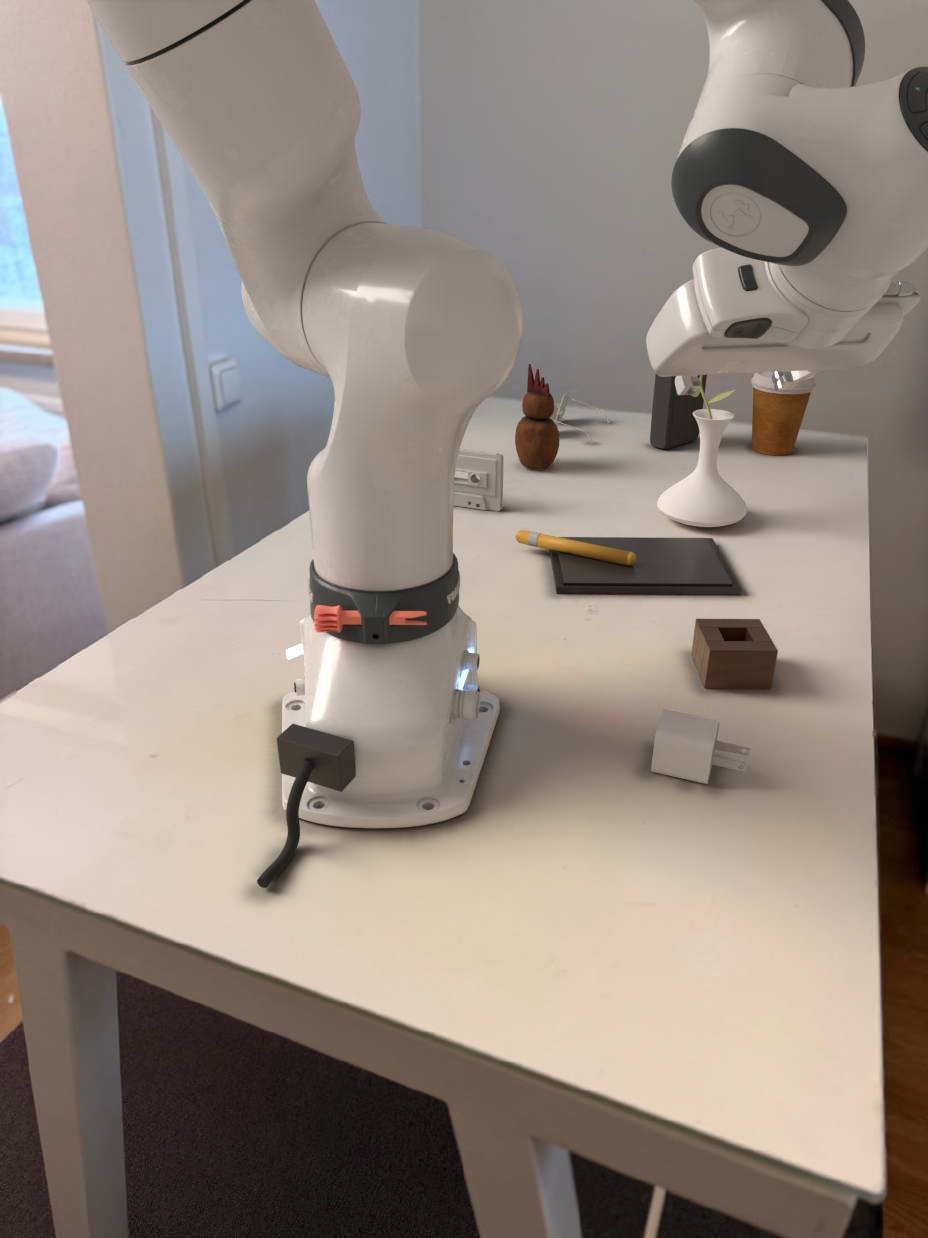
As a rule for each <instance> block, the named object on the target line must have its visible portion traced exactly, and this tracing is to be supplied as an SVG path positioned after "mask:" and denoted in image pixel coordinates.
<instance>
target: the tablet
mask: <svg viewBox="0 0 928 1238" xmlns="http://www.w3.org/2000/svg"><path fill="white" fill-rule="evenodd" d="M559 537H560V538H565V539H570V540H575V541H580V542H585V543H590V544H595V545H600V546H605V547H609V548H614V549H619V550H624V551H629V552H633V553H634V554H635V555H636V558H637V559H636V562H635V564H633V565H631V566H627V565H622V564H617V563H613V562H608V561H603V560H598V559H593V558H589V557H584V556H579V555H574V554H569V553H565V552H560V551H555V550H550V549H548V550H549V555H550V562H551V568H552V575H553V581H554V588H555V593H556V594H557V595H560V594H562V595H563V594H565V595H566V594H567V595H568V594H569V595H570V594H571V595H573V594H574V595H575V594H576V595H577V594H578V595H581V594H582V595H597V594H598V595H696V596H697V595H698V596H699V595H709V596H710V595H711V596H713V595H714V596H715V595H717V596H718V595H721V596H726V595H727V596H741V592H742V587H741V585H740V583H739V582H738V580H737V578H736V576H735V575H734V573H733V571H732V570H731V568H730V566H729V564H728V563H727V561H726V559H725V557H724V556H723V554H722V552H721V550H720V549H719V547H718V545H717V543H716V542H715V540H714V538H713V537H639V536H637V537H635V536H634V537H633V536H632V537H630V536H629V537H628V536H627V537H622V536H621V537H619V536H618V537H617V536H615V537H614V536H613V537H611V536H610V537H609V536H607V537H606V536H595V537H594V536H559Z"/></svg>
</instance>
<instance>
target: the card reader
mask: <svg viewBox="0 0 928 1238" xmlns="http://www.w3.org/2000/svg"><path fill="white" fill-rule="evenodd" d="M654 374H655V376H654V387H653V396H652V406H651V407H652V408H651V418H650V419H651V420H650V432H649V442H650V445H651V447H654V448H658V449H662V450H669V449H672V448H676V447H679V446H682V445H685V444H688V443H692V442H695V441H696V440H697V439H698V437H700V431H699V426H698V423H697V421H696V419H695V417H694V416H693V412H694V411H696V410H700V409H704V404H705V402H704V399H703V397H702V394H701V392H700V394H699V395H698V396H697V397H693V396H692V395H678V394H677V391H676V386H675V378H676V376H667V377H661V376H658V375H657V374H656V373H654ZM697 377H698V378H700V375H698V376H697ZM707 378H708V375H703V377H702V387H703V391H704V394H705V392H706V386H707V380H708V379H707ZM705 395H706V394H705Z"/></svg>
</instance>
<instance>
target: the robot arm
mask: <svg viewBox="0 0 928 1238" xmlns="http://www.w3.org/2000/svg"><path fill="white" fill-rule="evenodd" d="M85 1H86V2H87V4H88V7H89V8H90V10H91V11H92V13H93V15H94V17H95V18H96V21H97V23H98V24H99V26H100V28H101V29H102V31H103V33H104V34H105V36H106V37H107V40H108V42H110V44H111V46H112V47H113V49H114V50H115V52H116V54H117V56H118V57H119V59H120V60H121V62H123V65H124V67H125V68H126V70H127V71H128V73H129V75H130V76H131V78H132V80H133V81H134V83H135V84H136V86H137V88H138V90H139V91H140V92H141V94H142V95H143V97H144V99H145V100H146V102H147V103H148V105H149V107H150V108H151V110H152V111H153V113H154V115H155V116H156V118H157V119H158V121H159V123H160V124H161V126H162V127H163V129H164V131H165V132H166V134H167V135H168V137H169V139H170V140H171V141H172V143H173V145H174V146H175V148H176V150H177V152H178V153H179V154H180V156H181V158H182V159H183V161H184V163H185V164H186V166H187V167H188V169H189V170H190V172H191V174H192V175H193V177H194V179H195V181H196V182H197V184H198V186H199V188H200V189H201V191H202V193H203V195H204V196H205V199H206V201H207V202H208V205H209V206H210V208H211V210H212V213H213V215H214V217H215V219H216V221H217V223H218V227H219V228H220V231H221V233H222V235H223V237H224V240H225V242H226V245H227V248H228V250H229V252H230V255H231V258H232V260H233V262H234V265H235V267H236V270H237V272H238V274H239V277H240V280H241V282H240V285H241V286H240V288H241V290H240V291H241V299H242V304H243V309H244V311H245V313H246V316H247V318H248V321H249V323H250V324H251V325H252V327H253V329H254V330H255V331H256V333H257V334H258V335H259V336H260V337H261V338H262V339H263V340H264V341H265V342H266V343H267V344H269V345H270V346H271V347H272V349H274V350H275V352H277V353H279V354H280V355H281V356H282V357H283V358H285V359H286V360H288V361H289V362H291V363H292V364H293V365H295V366H297V367H298V368H301V369H304V370H307V371H309V372H312V373H315V374H318V375H321V376H323V377H326V378H328V379H330V380H331V383H332V385H333V392H334V404H333V414H332V420H331V421H332V422H331V425H330V430H329V435H328V439H327V442H326V446H325V447H324V448H323V449H322V450H320V451H319V452H318V453H317V454H316V456H315V457H314V458H313V459H312V461H311V463H310V464H309V467H308V470H307V474H306V487H307V498H308V509H309V520H310V532H311V533H310V534H311V544H312V546H311V547H312V555H313V558H312V559H311V561H310V564H309V577H308V583H307V584H308V597H309V613H308V614H307V615H305V616H304V617H303V619H301V620H300V621H299V627H300V628H299V629H300V637H301V643H299V644H297V645H295V646H292V647H289V648H287V649H285V655H286V659H287V660H292V659H294V658H297V657H299V656H300V655H302V656H303V664H304V678H296V679H295V682H294V683H293V690H292V691H290V692H289V693H287V694H285V695H284V696H283V698H282V700H281V733H280V735H278V736H277V737H276V744H277V745H276V746H277V754H278V761H279V770H280V774H281V806H282V809H283V811H285V819H286V826H287V836H286V839H285V843H284V846H283V848H282V850H281V851H280V853H279V855H278V857H277V858H276V859H275V860H274V861H273V862H271V864H270V865H269V866H268V867H267V868H266V869H265V870H264V871H263V872H262V873H261V874H260V876H259V877H258V878H257V880H256V883H257V885H259V887H260V888H263V889H267V888H269V886H270V885H271V884H272V882H273V881H274V880H275V879H276V878H277V877H278V876H279V875H280V874H281V873H282V872H283V871H284V870H285V869H286V868H287V866H288V865H289V864H290V863H291V861H292V859H293V858H294V856H295V854H296V851H297V849H298V846H299V843H300V838H301V823H300V819H301V820H304V821H307V822H310V823H315V824H319V825H325V826H331V827H341V828H349V829H351V828H353V829H354V828H355V829H401V828H413V827H420V826H427V825H432V824H437V823H441V822H444V821H447V820H451V819H453V818H456V817H458V816H460V815H463V814H464V813H466V812H467V811H468V809H469V807H470V804H471V802H472V799H473V795H474V794H475V790H476V787H477V783H478V780H479V777H480V774H481V772H482V771H481V770H482V768H483V765H484V763H485V758H486V756H487V752H488V749H489V746H490V743H491V740H492V736H493V734H494V730H495V727H496V724H497V721H498V719H499V715H500V712H501V707H500V700H499V698H498V696H497V695H495V694H493V693H492V692H490V691H488V690H485V689H482V688H480V685H479V684H478V683H479V681H478V679H479V678H478V670H479V667H480V659H481V658H480V653H478V634H477V633H478V632H477V629H478V628H477V622H476V621H475V620H473V619H472V617H470V616H469V615H468V614H467V613H466V612H465V611H464V610H463V609H462V608H461V607H460V605H459V604H460V588H461V575H460V570H459V561H458V557H457V555H456V554H455V553H454V506H453V501H454V478H455V477H456V471H455V469H456V463H457V458H458V454H459V450H460V449H461V446H462V442H463V439H464V436H465V434H466V431H467V428H468V425H469V423H470V421H471V419H472V417H473V415H474V413H475V411H476V410H477V409H478V407H479V406H481V404H482V403H483V402H484V401H485V400H487V399H488V398H490V397H491V396H492V395H493V394H494V393H496V391H498V389H499V388H500V387H501V386H502V385H503V384H504V382H505V381H506V380H507V378H508V377H509V375H510V374H511V372H512V370H513V369H514V367H515V364H516V363H517V360H518V357H519V354H520V352H521V348H522V344H523V339H524V332H525V309H524V302H523V297H522V293H521V290H520V288H519V286H518V283H517V281H516V279H515V277H514V276H513V273H511V271H510V269H508V267H507V266H506V265H505V264H504V263H503V262H502V261H501V260H500V259H498V258H497V257H496V256H494V255H492V254H491V253H490V252H486V251H485V250H484V249H482V248H480V247H478V246H476V245H474V244H472V243H470V242H468V241H467V240H464V239H462V238H460V237H457V236H455V235H453V234H451V233H450V232H446V231H443V230H438V229H433V228H425V227H417V226H409V225H408V226H407V225H400V224H393V223H392V224H391V223H388V222H386V221H385V220H384V219H383V217H381V216H380V214H379V213H378V212H377V210H376V209H375V207H374V206H373V205H372V203H371V201H370V199H369V198H368V195H367V193H366V188H365V185H364V183H363V177H362V174H361V171H360V166H359V162H358V156H357V151H356V143H355V142H356V141H355V138H356V135H357V133H358V131H359V130H358V129H359V127H360V122H361V114H362V111H361V100H360V95H359V93H358V89H357V86H356V84H355V82H354V80H353V78H352V76H351V74H350V72H349V70H348V67H347V66H346V62H345V61H344V59H343V56H342V54H341V53H340V50H339V48H338V46H337V44H336V42H335V40H334V38H333V36H332V34H331V31H330V29H329V27H328V25H327V22H326V21H325V18H324V17H323V15H322V13H321V10H320V8H319V6H318V5H317V2H316V0H85ZM690 1H691V2H692V4H693V6H695V7H694V8H696V10H697V11H698V12H699V14H700V15H701V18H703V20H704V23H705V26H706V30H707V35H708V45H709V55H708V57H709V60H708V70H707V76H706V79H705V81H704V85H703V88H702V90H701V93H700V96H699V99H698V100H697V101H698V102H697V104H696V107H695V109H694V112H693V114H692V116H691V117H690V119H691V121H690V122H689V123H688V127H687V129H686V132H685V135H684V137H683V141H682V143H681V146H680V149H679V152H678V155H677V158H676V161H675V163H674V166H673V169H672V171H671V172H672V173H671V180H670V181H671V182H670V183H671V193H672V198H673V201H674V203H675V207H676V208H677V210H678V212H679V214H680V216H681V218H682V219H683V221H685V223H686V224H687V225H688V227H690V229H691V230H693V231H694V233H696V234H697V235H698V236H700V237H701V238H702V239H704V240H705V241H707V242H708V243H710V244H712V245H714V246H716V247H717V248H712V249H709V250H706V251H703V252H702V253H700V254H699V255H698V256H697V257H696V258H695V260H694V262H693V264H692V277H693V278H692V279H690V280H688V281H685V283H683V284H682V285H680V286H679V287H678V288H677V289H675V290H674V291H673V293H672V294H671V295H670V296H669V297H668V298H667V300H666V302H665V303H664V304H663V306H662V308H661V309H660V310H659V312H658V314H657V315H656V316H655V318H654V320H653V322H652V323H651V324H650V327H649V328H648V331H647V334H646V336H645V337H646V338H645V341H646V342H645V344H646V345H645V346H646V350H647V356H648V359H649V363H650V366H651V368H652V370H653V371H654V374H657V375H658V376H661V377H667V376H676V378H675V386H676V391H677V394H678V395H692V394H695V393H696V391H697V390H698V389H699V388H700V387H701V383H700V379H699V378H698V377H697V376H698V375H707V376H708V375H710V376H711V375H730V374H753V373H754V374H755V373H757V372H774V373H773V374H772V381H773V383H774V384H775V385H774V388H775V390H776V391H777V390H792V389H793V388H794V387H795V386H796V385H797V384H798V383H799V382H800V381H803V380H805V379H807V378H809V377H811V376H813V375H814V376H815V375H817V374H819V373H821V372H823V371H825V370H826V371H827V370H846V369H847V370H849V369H859V368H862V367H864V366H866V365H869V364H871V363H872V362H874V361H875V360H876V359H877V358H878V357H879V356H880V355H881V354H882V353H883V351H885V349H886V348H887V347H888V346H889V344H890V343H891V342H892V341H893V339H894V338H895V337H896V335H897V334H898V333H899V331H900V330H901V328H902V326H903V323H904V316H906V315H907V314H909V313H910V311H912V310H913V309H914V307H915V306H917V304H918V303H919V302H920V301H921V296H922V291H921V288H919V287H918V286H916V285H915V283H914V282H913V281H911V280H910V281H909V280H898V281H897V280H896V281H894V282H893V279H894V277H895V276H896V274H897V273H898V272H900V271H902V270H903V269H905V268H907V267H908V266H910V265H912V264H913V263H914V262H916V260H917V259H918V258H920V257H921V255H922V254H923V253H924V252H925V251H926V250H927V249H928V66H923V65H921V66H916V67H912V68H909V69H907V70H905V71H902V72H901V73H899V74H897V75H895V76H893V77H891V78H888V79H884V80H880V81H875V82H872V83H871V82H870V83H866V84H865V83H864V84H859V85H857V83H858V81H859V79H860V76H861V73H862V70H863V67H864V63H865V56H866V39H865V32H864V28H863V24H862V22H861V19H860V17H859V15H858V13H857V11H856V10H855V8H854V6H853V4H852V3H851V2H850V1H849V0H690Z"/></svg>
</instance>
